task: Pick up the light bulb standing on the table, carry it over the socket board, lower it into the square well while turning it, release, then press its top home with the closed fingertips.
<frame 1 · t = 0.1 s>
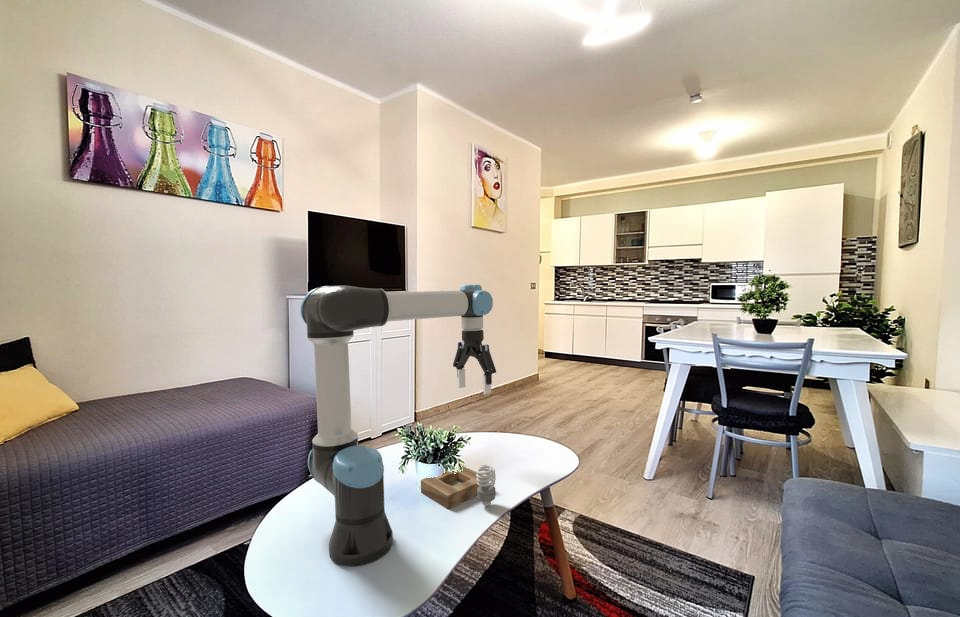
hand: (474, 390, 144), 28 cm above the table, fingers open, 13 cm apart
light bulb: (486, 506, 121), on the table
socket board: (455, 491, 130), on the table
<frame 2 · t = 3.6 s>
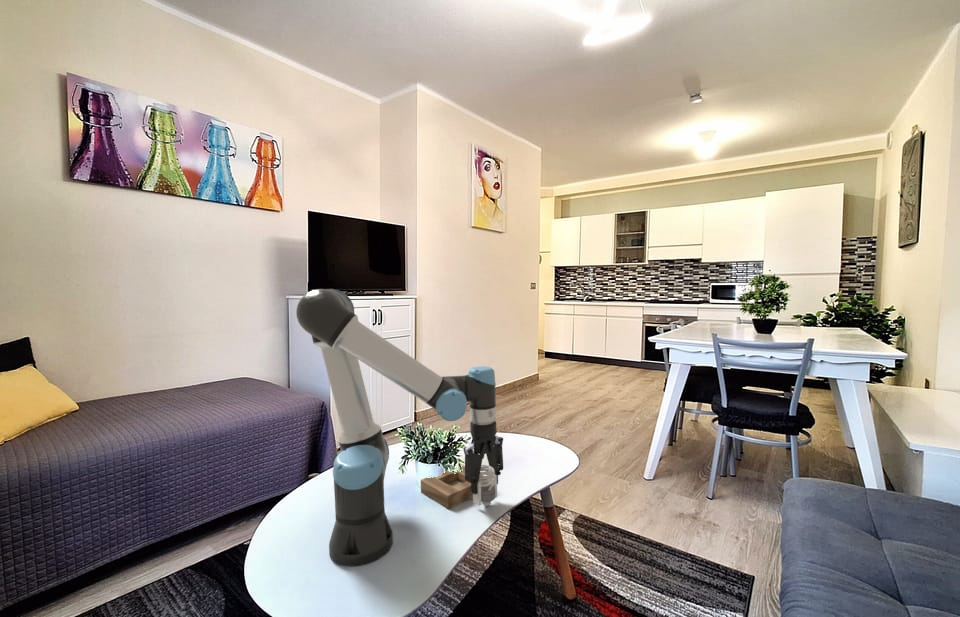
hand: (485, 499, 121), 2 cm above the table, fingers closed on light bulb, 6 cm apart
light bulb: (486, 506, 121), on the table, touching gripper
when the fingers open (5 cm above the table, at t = 7.6 s): light bulb drops 2 cm, resting on socket board.
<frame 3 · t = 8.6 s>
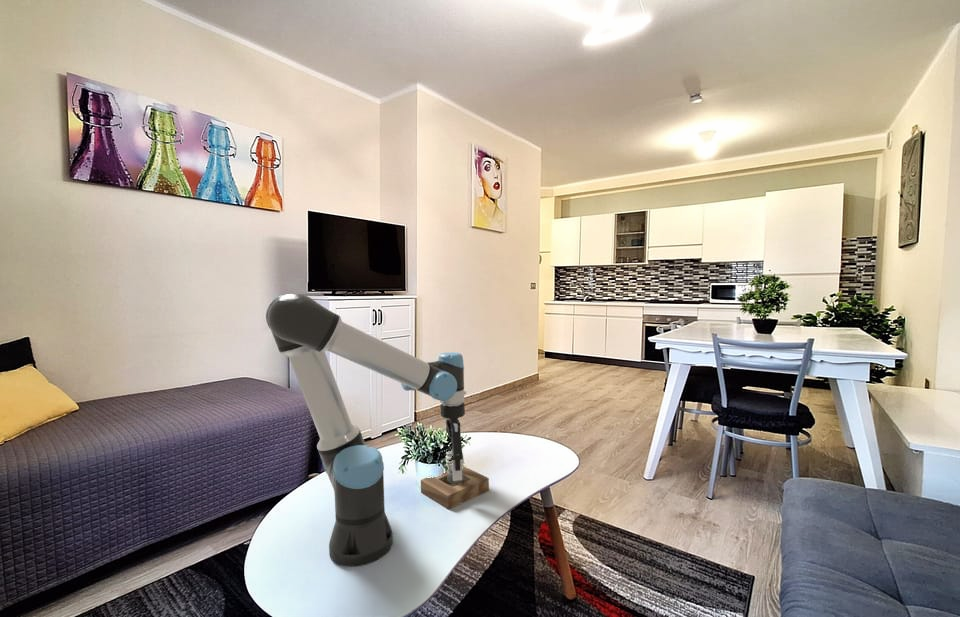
hand: (454, 470, 130), 7 cm above the table, fingers open, 13 cm apart
light bulb: (456, 488, 130), point 1 cm above the table, touching socket board
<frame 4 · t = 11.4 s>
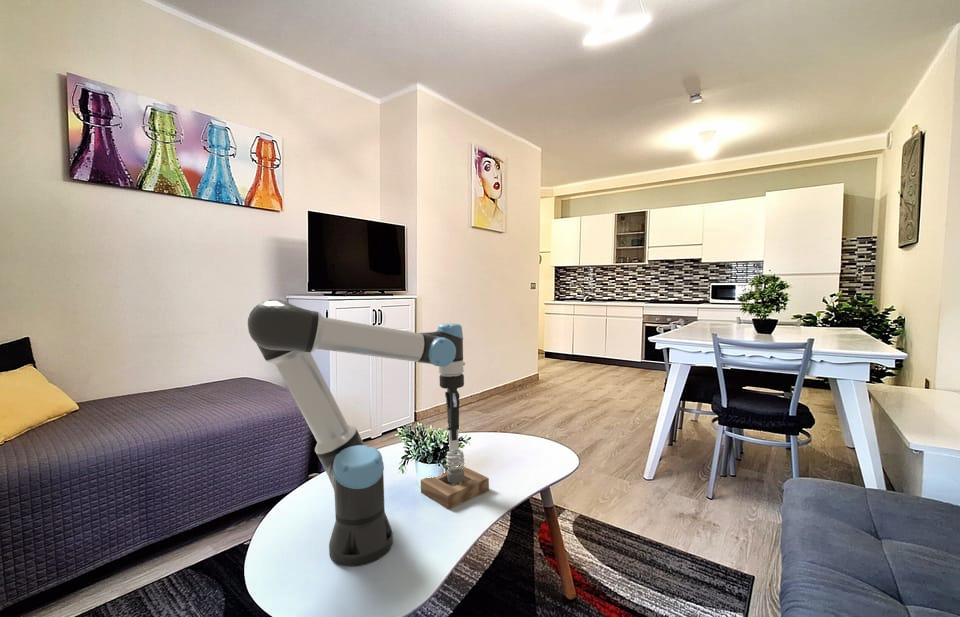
hand: (453, 449, 129), 13 cm above the table, fingers closed
light bulb: (456, 488, 130), point 1 cm above the table, touching gripper, socket board
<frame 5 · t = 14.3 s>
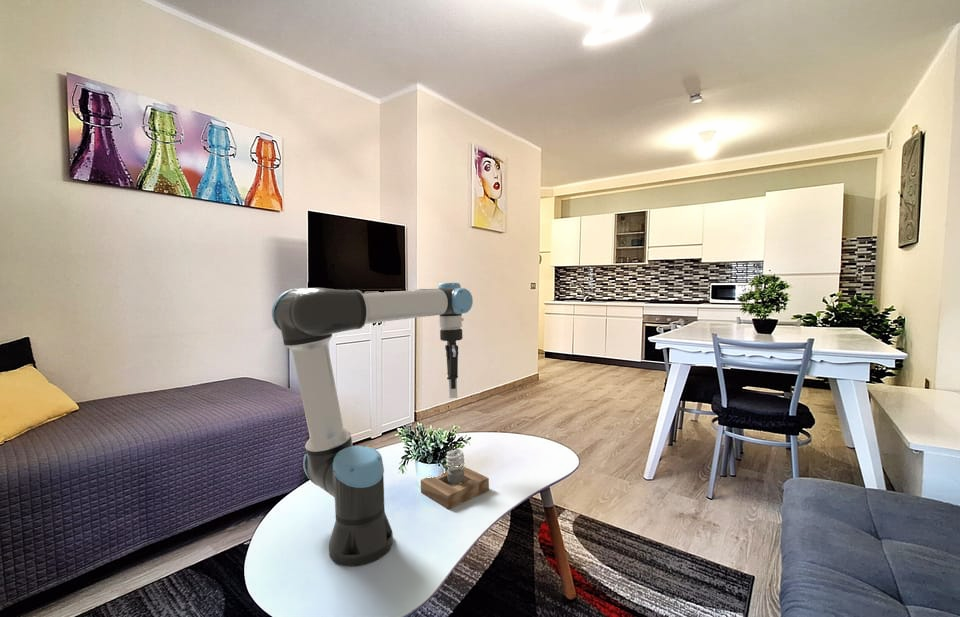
hand: (453, 397, 142), 26 cm above the table, fingers closed
light bulb: (456, 488, 130), point 1 cm above the table, touching socket board
at the end: light bulb 0.3 cm from the socket board (horizontally); light bulb tilted 0°; the gripper is holding nothing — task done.
